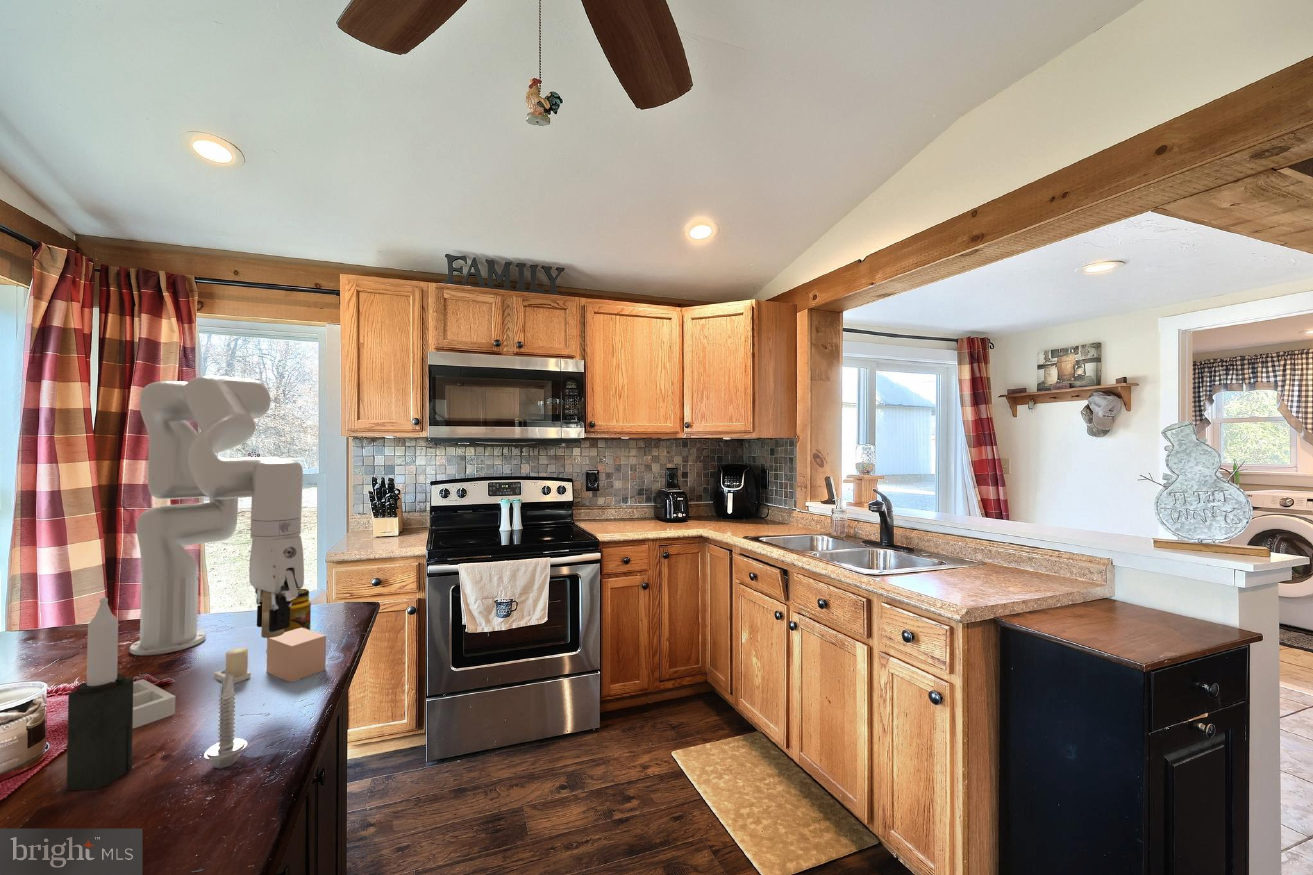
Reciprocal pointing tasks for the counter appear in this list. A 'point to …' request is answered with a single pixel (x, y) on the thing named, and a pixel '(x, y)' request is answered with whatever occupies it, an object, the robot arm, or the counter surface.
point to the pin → (265, 615)
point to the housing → (296, 654)
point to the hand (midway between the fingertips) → (273, 626)
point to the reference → (235, 665)
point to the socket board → (150, 703)
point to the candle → (100, 711)
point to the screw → (226, 730)
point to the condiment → (300, 611)
